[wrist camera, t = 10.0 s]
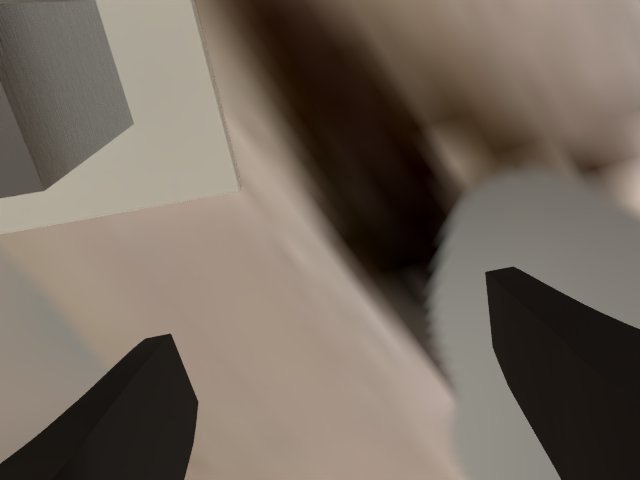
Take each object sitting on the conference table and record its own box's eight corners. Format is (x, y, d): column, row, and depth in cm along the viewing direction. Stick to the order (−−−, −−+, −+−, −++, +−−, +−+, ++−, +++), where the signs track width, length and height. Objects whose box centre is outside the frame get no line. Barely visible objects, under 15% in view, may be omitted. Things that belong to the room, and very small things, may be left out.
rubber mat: (163, -122, 16) (157, -126, 16) (241, 186, 20) (239, 191, 20) (-145, -56, 17) (-161, -58, 16) (-9, 231, 21) (-17, 237, 21)
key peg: (95, 0, 17) (-31, 4, 11) (134, 124, 19) (44, 191, 12) (-25, 22, 17) (-217, 40, 11) (24, 143, 19) (-119, 218, 13)
